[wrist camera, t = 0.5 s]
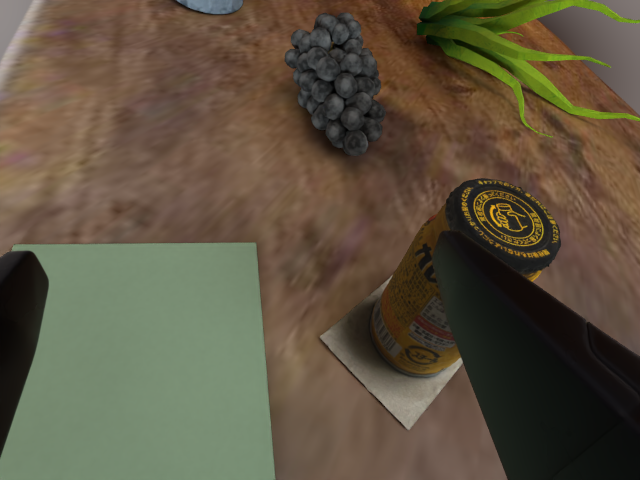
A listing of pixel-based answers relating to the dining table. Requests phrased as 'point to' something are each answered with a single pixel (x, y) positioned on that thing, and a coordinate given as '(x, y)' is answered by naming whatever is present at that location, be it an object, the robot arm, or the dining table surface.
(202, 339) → the mat
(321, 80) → the fruit
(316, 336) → the dining table surface
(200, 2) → the moka pot
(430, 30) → the decorative plant
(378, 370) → the condiment
